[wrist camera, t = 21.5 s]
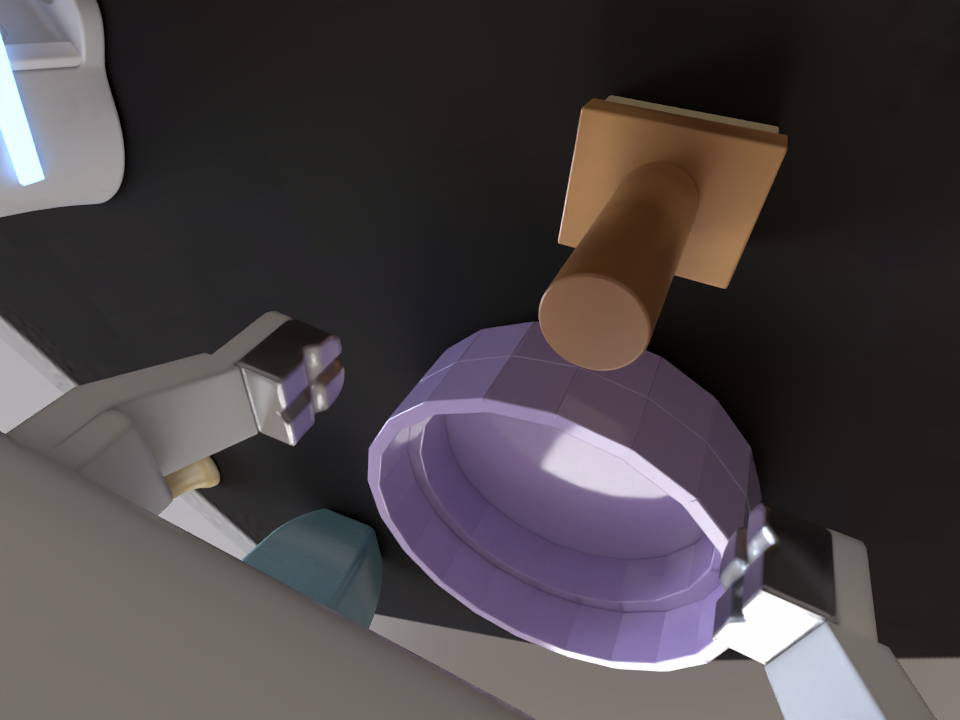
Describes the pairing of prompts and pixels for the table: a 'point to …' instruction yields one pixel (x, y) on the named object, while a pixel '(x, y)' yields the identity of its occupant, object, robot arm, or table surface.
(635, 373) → the bowl
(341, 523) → the flower pot
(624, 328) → the brush
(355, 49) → the table surface
